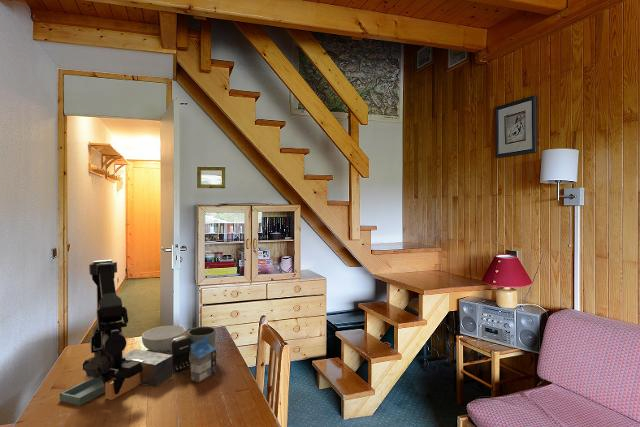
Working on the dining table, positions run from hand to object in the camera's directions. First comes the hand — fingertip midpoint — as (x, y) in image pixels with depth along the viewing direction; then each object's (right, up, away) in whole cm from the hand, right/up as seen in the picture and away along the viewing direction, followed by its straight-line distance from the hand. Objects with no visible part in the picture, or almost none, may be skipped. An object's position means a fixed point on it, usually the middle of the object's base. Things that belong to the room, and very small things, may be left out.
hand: (113, 393), depth 127 cm
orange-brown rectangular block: (+1, -1, +4) cm, 4 cm away
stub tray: (-8, -1, +4) cm, 9 cm away
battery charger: (+15, 0, +20) cm, 25 cm away
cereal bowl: (+1, 0, +40) cm, 40 cm away
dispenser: (+5, -1, +13) cm, 14 cm away
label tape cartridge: (+24, -1, +14) cm, 28 cm away
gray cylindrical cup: (+20, 0, +26) cm, 33 cm away
